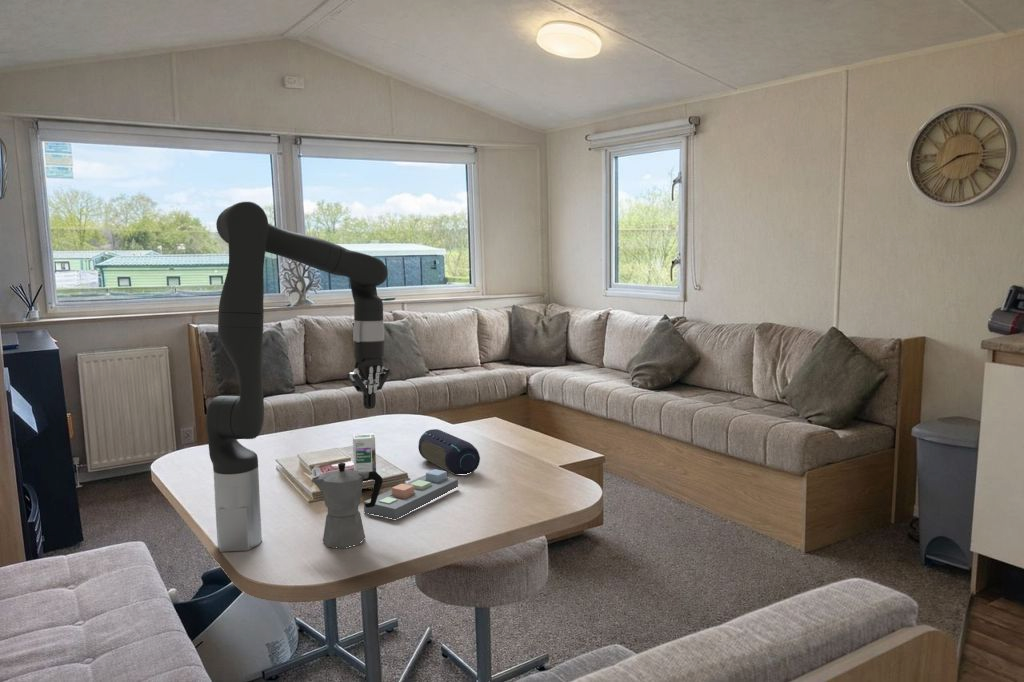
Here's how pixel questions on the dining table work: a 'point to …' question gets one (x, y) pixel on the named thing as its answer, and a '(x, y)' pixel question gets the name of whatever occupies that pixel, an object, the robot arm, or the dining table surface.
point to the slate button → (436, 476)
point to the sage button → (421, 485)
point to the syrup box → (364, 452)
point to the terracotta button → (403, 491)
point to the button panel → (408, 499)
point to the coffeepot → (345, 504)
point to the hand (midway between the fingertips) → (369, 408)
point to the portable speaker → (449, 452)
